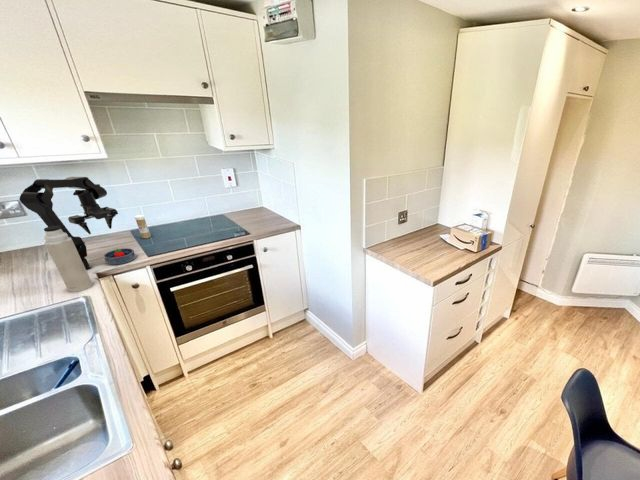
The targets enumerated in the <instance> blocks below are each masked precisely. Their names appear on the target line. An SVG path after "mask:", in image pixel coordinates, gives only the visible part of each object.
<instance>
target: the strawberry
mask: <svg viewBox="0 0 640 480" xmlns="http://www.w3.org/2000/svg"><path fill="white" fill-rule="evenodd" d="M118 249H119V248H116V249H115V250H116V251H115V254H114V257H115V258H116V257H122V256H125V254H124V252H122V251H121V250H118Z"/></svg>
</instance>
